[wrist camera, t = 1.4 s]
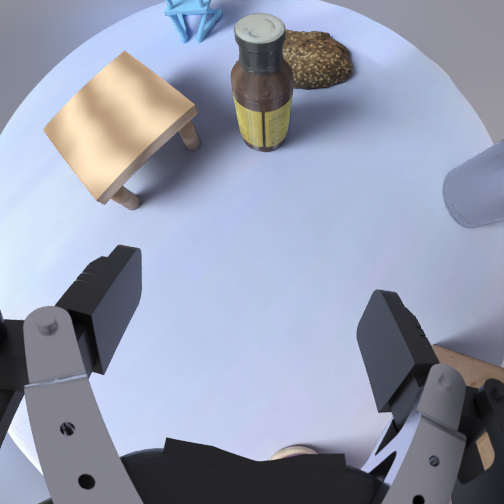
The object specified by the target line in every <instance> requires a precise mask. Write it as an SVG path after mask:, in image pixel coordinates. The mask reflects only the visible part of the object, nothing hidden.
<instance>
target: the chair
mask: <svg viewBox="0 0 504 504" xmlns="http://www.w3.org/2000/svg"><path fill="white" fill-rule="evenodd" d="M165 1H166V2H167V7H166V9H165V11H164V13H165V16H169V17H170V19H171V20H172V22H173V24H174V26H175V28H176V29H177V31H178V33H179V35H180V37H181V40H182V43H186V42H187V40H188V36H187V31H186V27H185V23H184V20H183V15H195V14H203V15H202V18H201V22H200V25H199V28H198V32H197V35H196V39H197V42H202V40H203V39H204V37H205V35H206V34H207V33H208V31H209V30H210V29H211V28H212V26H213V25H214V24H215V23H216V21H217V20H218V19H219V18H220V16H221V15H222V9H209V7H210V3H211V0H165ZM177 14H178V16H177ZM208 14H215V15H214V16H213V17H212V18H211V19H210V20H209V21H208V22H207V23H206V19H207V16H208ZM205 23H206V24H205Z"/></svg>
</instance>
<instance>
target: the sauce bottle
mask: <svg viewBox="0 0 504 504" xmlns="http://www.w3.org/2000/svg"><path fill="white" fill-rule="evenodd" d="M234 32H235V40H236V42H237V44H238V45H239V52H240V54H239V60H238V61H237V62H236V64H235V65H234V67H233V69H232V71H231V83H232V93H233V98H234V103H235V108H236V113H237V119H238V124H239V129H240V133H241V135H242V138H243V140H244V141H245V143H246V144H247V146H249V147H250V148H252V149H254V150H257V151H263V152H268V151H271V150H274V149H276V148H277V147H279V146H280V145H282V144H283V142H284V141H285V138H286V135H287V132H288V127H289V119H290V111H291V103H292V95H293V72H292V69H291V67H290V65H289V64H288V62H287V61H286V60H285V59H284V58H283V44H284V42H285V39H286V36H285V34H286V33H285V25H284V23H283V22H282V21H281V20H280V19H279V18H277V17H275V16H273V15H270V14H264V13H255V14H250V15H248V16H246V17H244V18H241V19H240V20H239V21H238V22H237V23H236V26H235V28H234Z"/></svg>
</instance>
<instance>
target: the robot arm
mask: <svg viewBox="0 0 504 504" xmlns="http://www.w3.org/2000/svg"><path fill="white" fill-rule="evenodd" d="M443 193H444V200H445V203H446V206H447V208H448V210H449V212H450V214H451V215H452V217H453V218H454V219H455V220H456V221H457V222H458V223H459V224H460V225H462V226H464V227H467V228H474V227H478V226H482V225H485V224H490V223H493V222H497V221H500V220H504V139H503V140H501V141H500V142H498V143H497V144H495V145H493V146H492V147H490V148H488V149H487V150H485V151H483V152H482V153H480V154H478V155H477V156H475V157H474V158H472V159H470V160H469V161H467V162H465V163H463V164H462V165H460V166H458V167H457V168H455V169H453V170H452V171H451V172H449V174H448V175H447V176H446V179H445V181H444V187H443ZM141 257H142V256H141V250H140V249H139V248H135V247H129V246H124V245H118V246H117V247H116V248H115V249H114V250H113V251H112V252H111V254H110V255H109V256H108V257H103V256H102V257H100V258H98V259H96V260H94V261H93V262H91V263H90V264H89V265H88V266H87V267H86V268H85V269H84V271H83V272H82V274H80V275H79V276H78V278H77V279H76V281H74V282H73V284H72V285H71V286H70V287H69V288H68V290H67V291H66V292H65V293H64V295H63V296H62V297H61V298H60V300H59V301H58V302H57V303H56V305H55V306H46V307H41V308H39V309H36V310H34V311H33V312H31V313H30V314H29V315H28V316H27V318H26V319H25V320H8V319H3V317H2V314H1V311H0V448H1V445H2V443H3V440H4V438H5V435H6V433H7V431H8V428H9V426H10V424H11V422H12V419H13V417H14V415H15V413H16V411H17V408H18V406H19V404H20V402H21V400H22V398H23V396H24V394H25V399H26V405H27V411H28V416H29V421H30V425H31V430H32V434H33V439H34V443H35V447H36V450H37V454H38V458H39V461H40V465H41V468H42V471H43V475H44V478H45V480H46V484H47V487H48V490H49V493H50V495H51V497H50V498H49V499H47V500H45V501H43V502H41V503H39V504H448V503H449V500H450V497H451V499H452V504H504V383H502V382H501V381H499V380H497V379H494V378H489V379H487V380H486V381H485V382H484V384H483V385H482V386H481V387H480V388H479V389H478V388H475V387H471V386H467V385H466V384H465V381H464V379H463V377H462V376H461V374H460V373H459V372H458V371H457V370H456V369H454V368H453V367H451V366H449V365H446V364H440V362H439V360H438V358H437V356H436V354H435V352H434V350H433V348H432V346H431V344H430V343H429V341H428V339H427V337H425V336H426V335H425V333H424V331H423V329H421V326H420V324H419V322H418V320H417V319H416V317H415V316H414V315H413V314H412V313H411V312H410V311H409V310H408V309H407V308H406V307H405V306H404V304H403V303H402V301H401V299H400V297H399V296H398V294H397V293H396V292H391V291H384V290H375V291H374V292H373V294H372V296H371V298H370V300H369V302H368V305H367V307H366V309H365V311H364V313H363V315H362V317H361V320H360V322H359V324H358V328H357V341H358V345H359V348H360V351H361V354H362V357H363V361H364V364H365V367H366V371H367V374H368V377H369V381H370V384H371V388H372V391H373V395H374V398H375V402H376V406H377V409H378V413H382V412H392V415H393V417H392V418H391V419H390V420H389V422H388V423H387V425H386V427H385V429H384V431H383V433H382V435H381V437H380V439H379V441H378V443H377V444H376V446H375V448H374V450H373V452H372V453H371V455H370V457H369V459H368V460H367V462H366V463H365V464H364V466H363V467H362V468H361V469H358V468H355V467H351V466H348V465H346V461H345V455H344V454H301V455H296V456H291V457H286V458H280V459H275V460H268V461H254V460H251V459H248V458H245V457H242V456H239V455H236V454H233V453H230V452H227V451H224V450H222V449H219V448H216V447H214V446H209V445H203V444H197V443H192V442H186V441H181V440H176V439H171V438H167V437H166V442H165V446H164V448H154V449H145V450H140V451H135V452H132V453H129V454H126V455H124V456H122V457H119V455H118V453H117V451H116V449H115V447H114V444H113V442H112V440H111V437H110V435H109V433H108V430H107V428H106V426H105V423H104V421H103V418H102V416H101V413H100V410H99V408H98V405H97V402H96V400H95V397H94V394H93V391H92V388H91V385H90V382H89V377H90V375H91V373H92V372H95V373H98V374H102V375H104V374H105V372H106V370H107V368H108V365H109V363H110V361H111V359H112V357H113V355H114V353H115V351H116V348H117V346H118V344H119V342H120V340H121V338H122V336H123V334H124V332H125V330H126V328H127V326H128V324H129V322H130V320H131V318H132V316H133V314H134V312H135V310H136V308H137V306H138V304H139V301H140V297H141V291H142V267H141ZM486 432H487V433H488V436H489V439H490V442H491V445H492V447H493V450H494V461H493V463H492V465H491V466H490V467H489V468H488V469H486V470H484V466H483V463H482V460H481V456H480V453H479V450H478V447H477V444H476V441H477V440H478V439H479V438H480V437H481V436H483V435H484V434H485V433H486Z"/></svg>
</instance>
